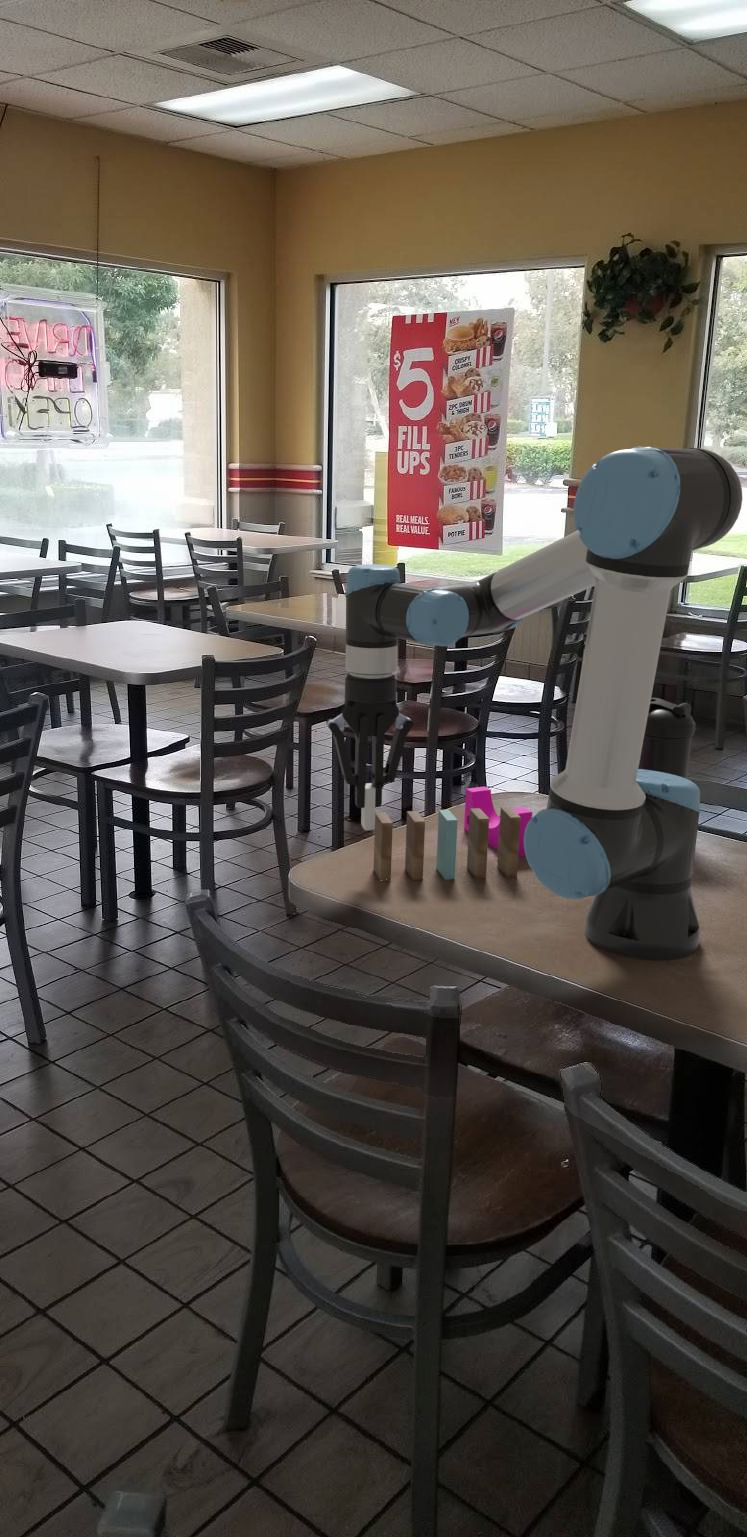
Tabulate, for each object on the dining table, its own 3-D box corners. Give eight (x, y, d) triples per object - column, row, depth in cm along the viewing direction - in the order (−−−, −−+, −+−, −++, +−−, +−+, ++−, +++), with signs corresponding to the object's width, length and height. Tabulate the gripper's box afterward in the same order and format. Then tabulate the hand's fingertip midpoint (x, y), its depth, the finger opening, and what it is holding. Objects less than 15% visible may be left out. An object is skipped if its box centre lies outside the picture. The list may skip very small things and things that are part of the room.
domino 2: (414, 871, 188) (417, 810, 185) (422, 883, 183) (425, 821, 180) (404, 872, 187) (406, 811, 184) (412, 884, 183) (414, 821, 180)
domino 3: (444, 882, 184) (447, 820, 181) (436, 870, 188) (438, 810, 185) (454, 882, 184) (457, 820, 181) (446, 870, 189) (448, 809, 186)
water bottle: (638, 817, 216) (649, 692, 210) (692, 829, 211) (706, 701, 204) (614, 831, 208) (625, 702, 202) (670, 844, 203) (684, 711, 196)
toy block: (542, 853, 198) (545, 810, 196) (509, 858, 195) (512, 814, 193) (495, 825, 211) (497, 784, 209) (463, 830, 208) (465, 788, 206)
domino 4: (476, 868, 190) (479, 808, 187) (485, 880, 185) (489, 818, 182) (466, 869, 189) (469, 808, 186) (475, 880, 185) (479, 818, 182)
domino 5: (506, 867, 191) (510, 807, 188) (516, 878, 186) (520, 817, 183) (497, 867, 190) (500, 807, 188) (506, 879, 186) (510, 817, 183)
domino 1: (383, 873, 187) (385, 812, 184) (390, 885, 182) (392, 822, 179) (373, 874, 186) (375, 812, 183) (380, 885, 182) (382, 823, 179)
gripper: (408, 666, 179) (403, 817, 186) (322, 668, 177) (320, 821, 183) (421, 677, 172) (416, 833, 179) (331, 679, 169) (329, 837, 176)
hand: (367, 827), depth 181 cm, fingers closed
